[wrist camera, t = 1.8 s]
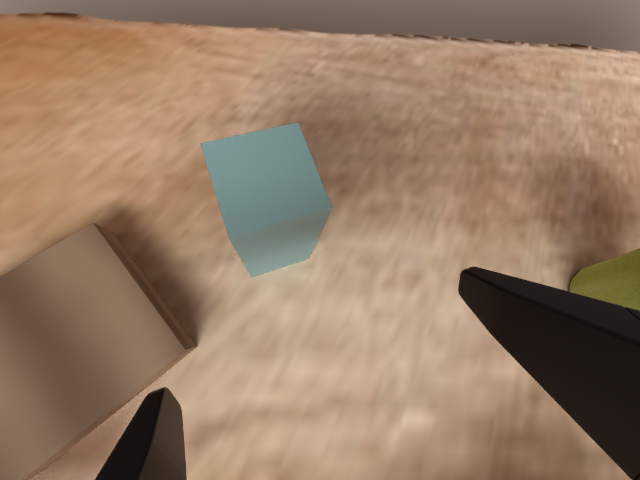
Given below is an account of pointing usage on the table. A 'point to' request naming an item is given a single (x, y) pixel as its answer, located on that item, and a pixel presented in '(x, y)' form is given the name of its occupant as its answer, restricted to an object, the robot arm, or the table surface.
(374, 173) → the table surface
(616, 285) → the plant pot
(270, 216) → the teal block
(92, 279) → the walnut block
